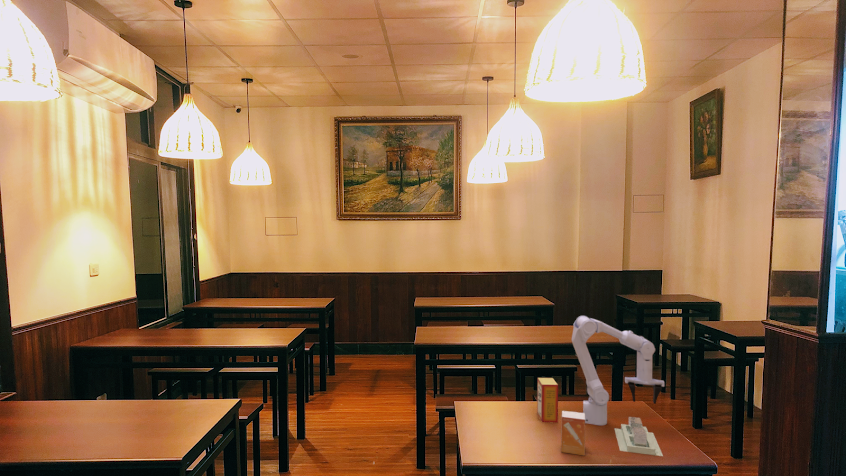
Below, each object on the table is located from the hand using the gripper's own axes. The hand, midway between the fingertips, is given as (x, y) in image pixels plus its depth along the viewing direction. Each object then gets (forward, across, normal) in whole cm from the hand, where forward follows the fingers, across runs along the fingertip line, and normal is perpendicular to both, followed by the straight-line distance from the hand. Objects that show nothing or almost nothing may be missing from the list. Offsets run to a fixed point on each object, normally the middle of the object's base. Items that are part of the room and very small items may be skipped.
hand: (644, 401), depth 192 cm
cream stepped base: (+9, -5, -20) cm, 22 cm away
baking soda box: (+10, -38, -5) cm, 40 cm away
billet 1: (+9, -5, -14) cm, 18 cm away
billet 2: (+9, -5, -25) cm, 27 cm away
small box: (+10, -28, -33) cm, 44 cm away
